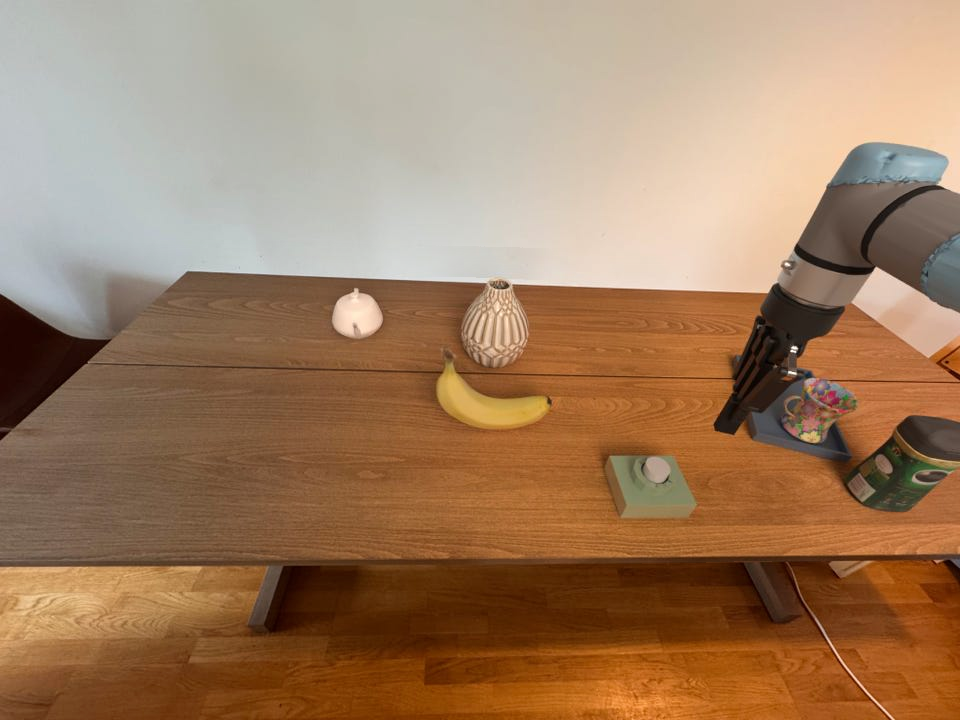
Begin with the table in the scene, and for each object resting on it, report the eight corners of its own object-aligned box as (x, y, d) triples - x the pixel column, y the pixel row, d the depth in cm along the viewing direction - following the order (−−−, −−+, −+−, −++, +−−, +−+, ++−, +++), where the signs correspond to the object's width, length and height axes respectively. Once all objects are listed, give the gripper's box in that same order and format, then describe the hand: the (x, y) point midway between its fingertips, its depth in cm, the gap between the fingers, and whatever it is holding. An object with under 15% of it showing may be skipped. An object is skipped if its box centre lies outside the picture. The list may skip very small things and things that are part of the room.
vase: (525, 340, 108) (536, 269, 95) (524, 381, 96) (537, 307, 83) (464, 333, 109) (467, 263, 96) (455, 374, 96) (457, 299, 83)
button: (647, 483, 70) (650, 476, 68) (638, 463, 73) (642, 456, 72) (670, 483, 70) (674, 476, 69) (661, 463, 73) (665, 456, 72)
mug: (810, 414, 92) (839, 379, 85) (836, 448, 85) (870, 412, 78) (755, 411, 92) (780, 375, 85) (777, 445, 85) (806, 408, 78)
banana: (543, 412, 89) (561, 336, 76) (549, 433, 84) (569, 356, 71) (436, 415, 86) (435, 337, 73) (436, 437, 82) (435, 358, 69)
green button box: (620, 518, 71) (630, 498, 67) (603, 468, 78) (612, 448, 75) (688, 517, 72) (702, 498, 68) (665, 468, 79) (677, 448, 75)
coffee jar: (886, 479, 80) (962, 412, 68) (915, 517, 74) (1004, 450, 62) (834, 473, 81) (901, 405, 69) (858, 510, 75) (937, 443, 63)
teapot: (385, 351, 101) (381, 316, 95) (331, 356, 99) (324, 320, 92) (382, 306, 116) (379, 273, 110) (335, 309, 114) (329, 276, 107)
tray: (846, 463, 83) (852, 456, 81) (752, 439, 86) (757, 433, 85) (807, 376, 103) (811, 370, 102) (732, 360, 106) (735, 354, 105)
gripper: (762, 263, 54) (693, 395, 69) (790, 315, 44) (702, 456, 59) (826, 274, 53) (741, 406, 68) (870, 330, 43) (759, 470, 58)
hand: (723, 429), depth 63 cm, fingers closed
